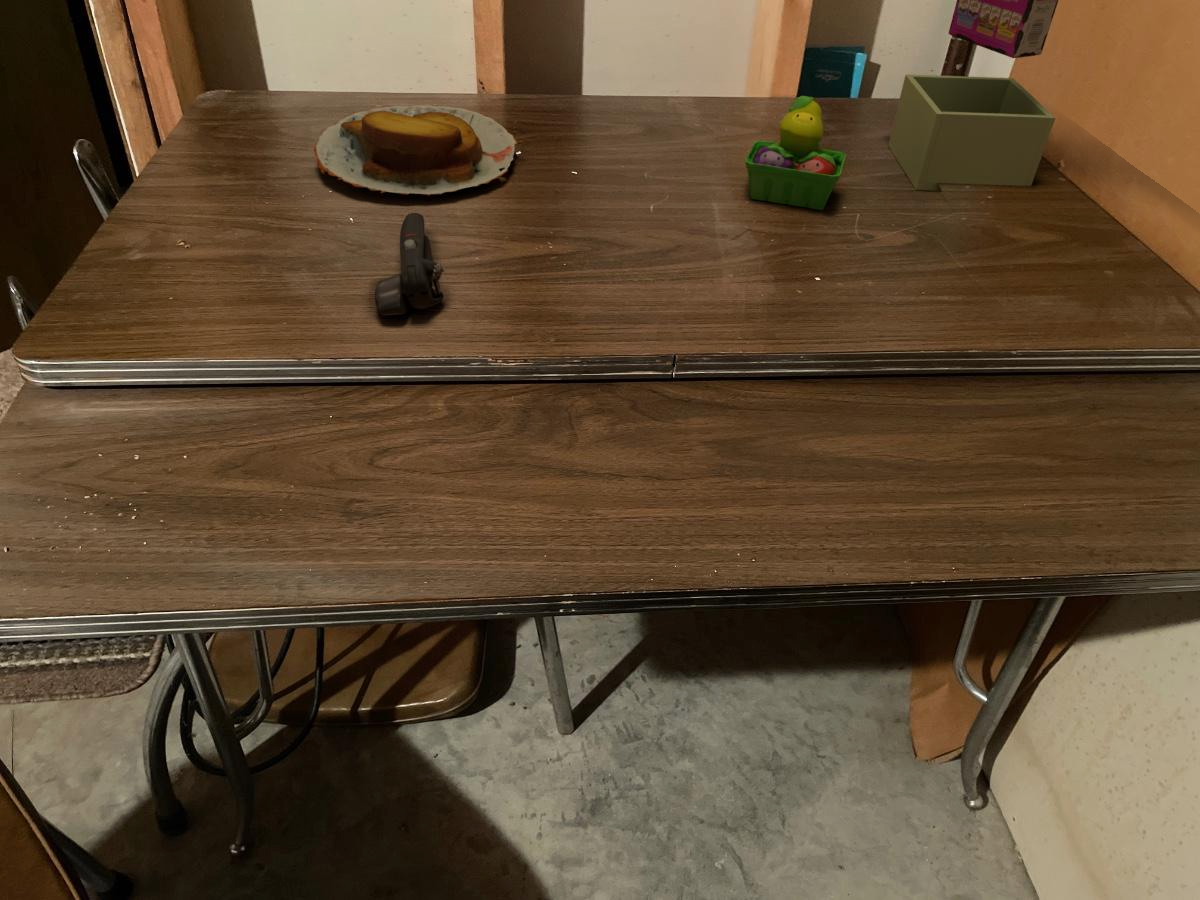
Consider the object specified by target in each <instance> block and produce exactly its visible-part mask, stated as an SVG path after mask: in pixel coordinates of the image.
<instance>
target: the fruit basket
mask: <svg viewBox="0 0 1200 900" xmlns="http://www.w3.org/2000/svg"><path fill="white" fill-rule="evenodd" d="M788 110H789V111H788V113H787V114H786V115H785V116H784V117H782V120H781V121H780V123H779V129H780V130H779V135H780V137H779V139H780V142H775V141H766V140H757V141H755V142H753V144H752V146H751V148H750V149H749V152H748V153H747V155H746V157H745V159H744V161H745V168H746V169H747V177H748V178H747V179H748V186H749V187H748V188H749V195H750V199H751V200H756V201H765V202H766V201H767V202H769V203H774V204H781V205H782V204H783V205H785V204H787V205H789V206H793V207H798V208H808V209H811V210H819V211H823V210H824V208H825V207H826V205H827V202H828V200H829V198H830V197H831V193H832V191H833V189H834V187H835V185H836V183H837V182H838V181H839V179H840V177H841V176H842V170H843V166H844V163H845V161H846V159H847V155H846V153H844V152H842V151H837V150H836V151H835V150H831V149H830V150H829V149H823V148H819V145H820V144H819V143H820V142H821V141H822V139H823V136H824V124H823V120H822V117H823V112H822V111H823V110H822V108H821V106H820V104H819V103H818V102H816V101H815V97H813V96H808V95H800V96H798V97H797V98H796V99H794V102H793V104H792V106H791V107H789V109H788Z"/></svg>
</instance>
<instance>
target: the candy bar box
mask: <svg viewBox="0 0 1200 900" xmlns="http://www.w3.org/2000/svg"><path fill="white" fill-rule="evenodd" d="M1058 4H1059V0H956V3H955V7H954V10H953V14H952V18H951V22H950V26H949V29H948V35H949V36H952V37H955V38H957V39H960V40H961V41H962V40H963V41H965V42H968V43H970V44H974V45H976V46H978V47H981V48H984V49H986V50H989V51H992V52H995V53H998V54H1000V55H1004V56H1005V57H1008V58H1011V59H1019V58H1026V57H1027V58H1028V57H1035V56H1039V55H1041V54H1042V53H1043V50H1044V46H1045V44H1046V42H1047V41H1046V40H1047V37H1048V34H1049V31H1050V28H1051V26H1052V22H1053V18H1054V15H1055V13H1056V10H1057V7H1058Z"/></svg>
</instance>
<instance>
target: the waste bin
mask: <svg viewBox="0 0 1200 900" xmlns="http://www.w3.org/2000/svg"><path fill="white" fill-rule="evenodd" d="M898 100H899V101H898V104H897V108H896V112H895V117H894V119H893V120H894V121H893V124H892V128H891V132H890V137H889V141H888V145H887V147H888V149H889V150H890V152H891V153H892V155H893V156H894V158H895V159H896V161H897V162H898V164H899V166H900V167H901V169H902V170H903V172H904V173H905V175H906V176H907V179H908V180H909V181H910V183H911V184H912V186H913V188H914V190H915V191H931V192H932V191H934V192H943V190H942V188H941V186H940V185H939V184H956V185H957V184H959V185H985V186H987V185H989V186H1014V187H1015V186H1017V187H1032V185H1033V182H1034V179H1035V177H1036V174H1037V171H1038V169H1039V165H1040V163H1041V159H1042V157H1043V155H1044V151H1045V148H1046V146H1047V143H1048V140H1049V136H1050V134H1051V131H1052V129H1053V127H1054V124H1055V121H1056V116H1054V115H1053V114H1052V113H1051V112H1050V111H1049V110H1048V109H1047V108H1046V107H1045V106H1044V105H1042V104H1041V103H1040V102H1039V100H1037V99H1036V98H1035V97H1034V96H1033V95H1032V94H1031V93H1030V92H1029V91H1028V90H1027V89H1026V88H1024V86H1022V85H1021V84H1020V83H1019V82H1018V81H1017V80H1016V79H1015V78H1013V77H993V76H992V77H990V76H988V77H987V76H985V77H984V76H966V75H965V76H963V75H962V76H961V75H935V74H907V73H906V74H905V75H904V79H903V83H902V87H901V92H900V95H899V99H898Z"/></svg>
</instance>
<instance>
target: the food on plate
mask: <svg viewBox="0 0 1200 900" xmlns="http://www.w3.org/2000/svg"><path fill="white" fill-rule="evenodd" d="M516 145H518V141H517V139H516V138H515V136H514V135H513V134H512V133H510V131H508V130H507V129H506V128H505V127H504V126H502V125H501V124H500V123H499V122H498V121H496V120H495V119H493V118H492V117H490V116H485V115H483V114H481V113H479V112H476V111H473V110H469V109H467V108H461V107H455V106H444V105H429V104H411V105H409V104H408V105H401V104H399V105H393V106H386V107H385V106H384V107H373V108H370V109H368V110H361V111H354V112H353V114H351V115H348V116H344V117H343V118H340V119H339V121H338V123H334V124H332V125H329V126H328V127H326V129H325V130H324V131H322V133H321V135H320V136H319V137H318V139H317V142H316V143H315V145H314V147H313V152H314V156H315V157H316V165H317V167H318V168H319V169H320V172H321V173H322V174H325V172H327V174H328V175H329V176H332V177H337V180H338V181H340V180H342V181H343V182H345V183H348V184H349V185H350V184H351V185H352V186H353V187H357V188H367V189H368V190H370V191H380V194H383V193H386V192H388V193H395V194H401V195H409V194H417V195H419V194H420V195H426V196H431V195H442V194H444V193H452V192H457V191H458V190H462V189H463V190H464V189H467V188H471V187H478V186H480V185H482V184H489V183H490V182H491V181H493V180H496V179H497V178H498V177H502V176H503V175H504V174H506V173H507V172H508V171H509V169H508V168H509V167H510V165H511V162H512V161H513V160H514V155H515V146H516ZM518 165H519V166H520V163H518ZM500 169H502V170H500ZM409 187H412V188H409ZM423 189H424V190H423Z"/></svg>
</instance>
